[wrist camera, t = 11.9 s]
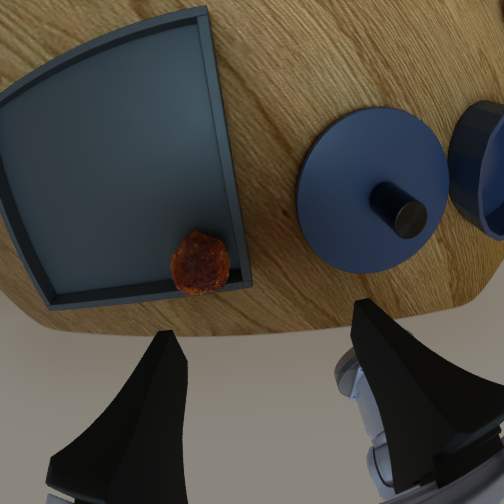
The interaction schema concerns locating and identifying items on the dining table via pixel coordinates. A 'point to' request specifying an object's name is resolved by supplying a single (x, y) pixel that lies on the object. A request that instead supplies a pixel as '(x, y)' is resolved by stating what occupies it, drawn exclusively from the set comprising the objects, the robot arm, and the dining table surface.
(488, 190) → the tin
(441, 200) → the tin lid
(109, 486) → the robot arm
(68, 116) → the tray
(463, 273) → the dining table surface
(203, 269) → the meatball
